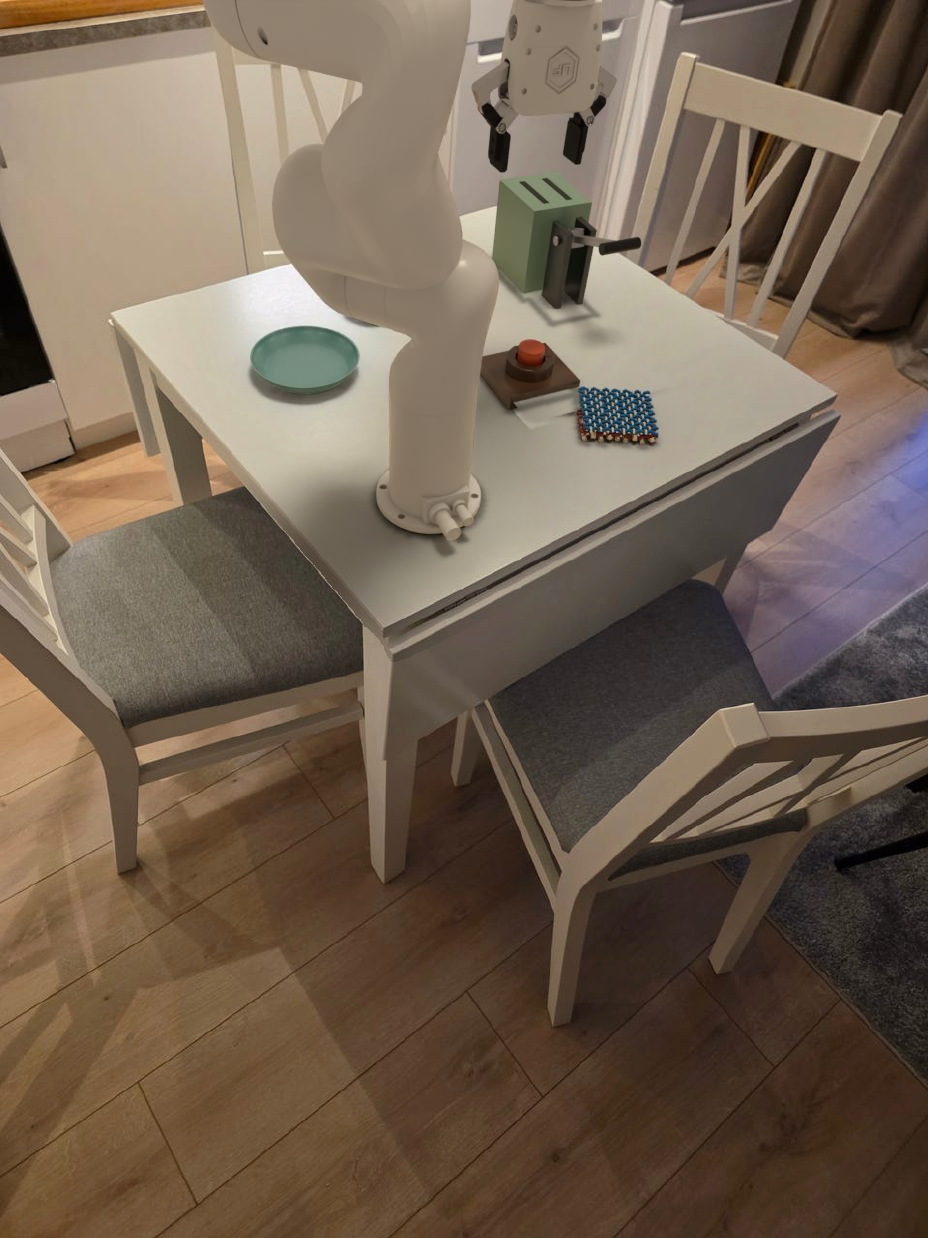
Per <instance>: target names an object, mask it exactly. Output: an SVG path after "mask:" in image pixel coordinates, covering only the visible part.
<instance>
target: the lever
mask: <svg viewBox="0 0 928 1238" xmlns="http://www.w3.org/2000/svg"><path fill="white" fill-rule="evenodd" d="M567 229H568V230H569V231H571V232H572V233H573V240H572V246H571V249H573V248H578V247H584V245H589V246H594V248H595V247H596V248H598V253H599V255H600V256H602V257H603V256H608V255H613V254H619V253H624V252H629V251H630V252H631V251H635V250H639V249H640V248H641V247H642V239H641V237H639V236H635V237H628V238H622V239H616V240H615V239H610V238H604V237H597V236H596V237H592V236H586V235H584V229H582V228H576V227H572V228H567Z"/></svg>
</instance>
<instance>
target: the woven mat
mask: <svg viewBox="0 0 928 1238" xmlns="http://www.w3.org/2000/svg"><path fill="white" fill-rule="evenodd" d="M577 390H578V393H579V395H578V400H579V404H580V409H577V411H576V412H577V416H578V421H577V424H578V425H579V428H578V430H579V433H580V435H581V441H582V442H587V441H588V437H587V436H589V437H590V439H593V440H596V438H597V441H598V442H599V443H602V444H603V443H604V436H605V437H606V439H607V440H608V441H611V440H612V439H613V438H614V441H615V442H616V443H619V442H620V441H621V438H622V442H623V443H625V444H626V443H627V444H628V442H629V439H630V440H631V441H632V442H638V441H639V445H640V446H644V445H646V444H645V439H647V442H649V443H650V444H652V443H654V442H655V441H656V439H659V432H657V431H659V427H658V426H657V423H658V419H656V418H655V417H654V416H656V412H655V411H654V410H652V409H654V407H655V406H654V405H653V403H651V402H652V401H653V398H652V397H651V396H650V394H651V390H644V391H643V390H639V389H638V388H636V389H635V390H633V389H631V390H629V389H628V388H626V387H625V388H624V389H618V388H617V387H615V388H611V387H609V388H607V386H604V388H602V387H599V388H597V387H596V385H593V386H592V387H591V386H586V385H583V386H579V387H577Z"/></svg>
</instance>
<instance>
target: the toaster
mask: <svg viewBox="0 0 928 1238" xmlns="http://www.w3.org/2000/svg"><path fill="white" fill-rule="evenodd" d="M497 192H498V193H497V203H496V213H495V224H494V234H493V243H492V244H493V245H492V255H491V258H492V259H493V261H494V263H495V264H496V267H497V269H499V270H500V271H501V273H503V274H504V275H505V276H506V277H507V278H508V279H509V281H510V282H511V283H513V284H514V285H515V287H516V288H517V289H518V290H519V291H520V292H521V293H522V294H529V293H533V292H534V293H535V292H539V291H542V290H543V283H544V277H545V270H546V264H547V257H548V250H549V244H550V237H551V231H552V224H553V221H559V222H560V223H562V224H563V225H564V226H565V227H566V228H572V227H575V221H576V218H577V217H582V218H583V219H585V220H586V221H587V222H588V223H589V221H590V215H591V211H592V206H593V205H592V204H593V201H592V200H590V199H589V198H588V197H587V196H586V195H585V194H583V193H582V192H581V191H579V190H578V189H577V188H576V187H574V186H573V185H572V184H571V183H570V182H569V181H568V180H566V179H565V178H564V177H562V175H560V174H559V173H558V172H557V171H551V172H545V173H537V174H531V175H524V176H517V177H515V176H514V177H509V178H508V177H507V178H502V179H499V183H498V191H497Z"/></svg>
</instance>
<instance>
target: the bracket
mask: <svg viewBox="0 0 928 1238" xmlns="http://www.w3.org/2000/svg"><path fill="white" fill-rule="evenodd" d="M575 227H576V228H582V229H584V235H586V236H592V237H597V231H598V229H596V228H595V227H594V225H592V224H590V223H589V222H587V221H586V220H585V219H583V218H582V217H577V218H576V221H575ZM572 240H573V233H572V232H571V231H569V230H568V229H567V228H566V227H565V226H564V225H563V224H562V223H560V222H559V221H553V224H552V231H551V237H550V244H549V250H548V257H547V264H546V270H545V277H544V283H543V290H541V297H543V298H544V299H545V301H547V302H548V304H549V305H551V307H552V308H553V309H555V310H559V309H561V308H562V303H563V297H564V293H565V294H566V295H567V296H568V297H569V298H570V299H571V300H572V301H573V303H575V304H576V305H577V306H578V305H583V304H584V298H585V293H586V289H587V283H588V279H589V272H590V268H591V263H592V258H593V254H594V253H593V252H594V248H595V247H594V246H589V245H584V247H578V248H573V249H571V246H572Z"/></svg>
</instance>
